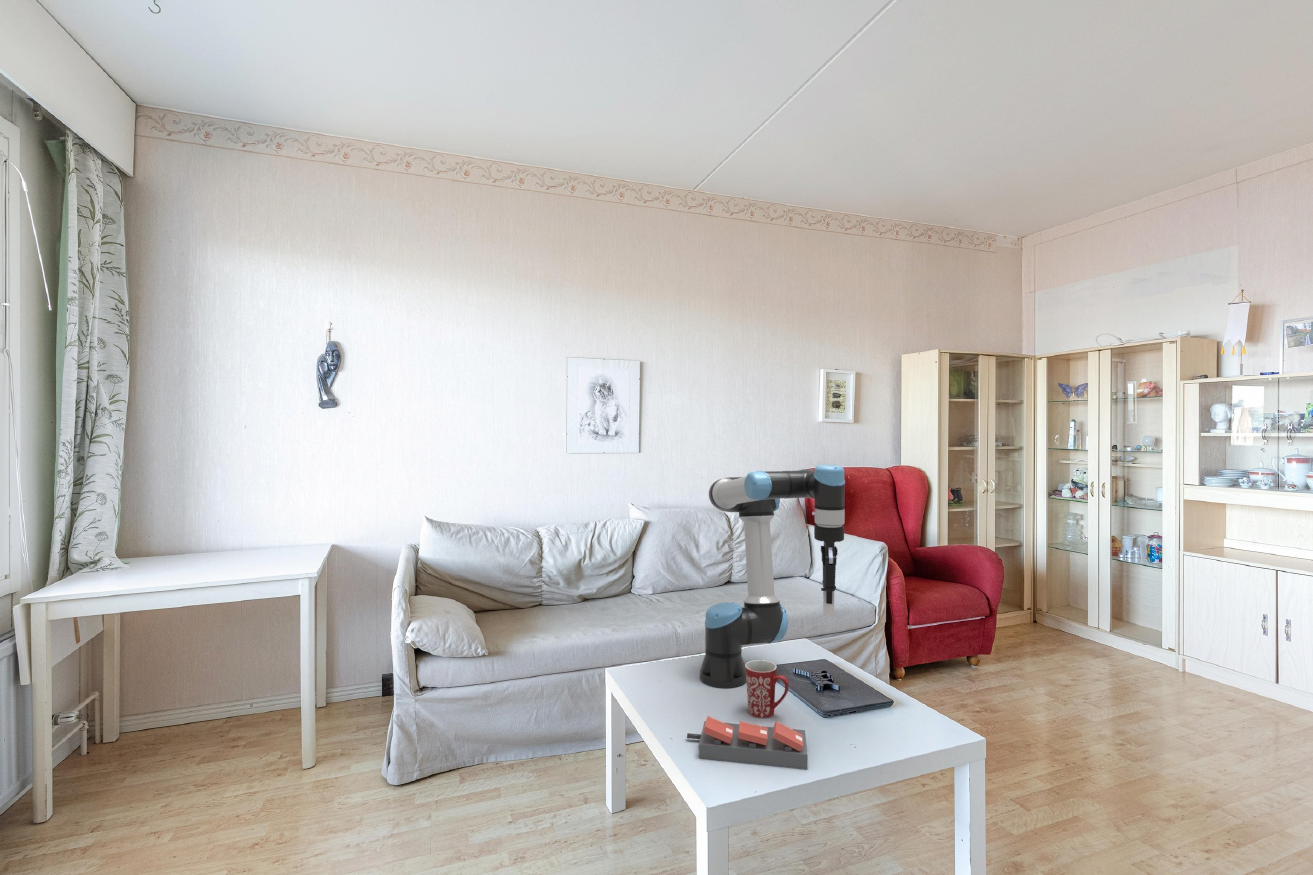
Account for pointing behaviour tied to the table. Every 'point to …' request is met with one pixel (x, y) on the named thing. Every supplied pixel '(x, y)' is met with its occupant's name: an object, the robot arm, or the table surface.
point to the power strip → (752, 750)
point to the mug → (762, 687)
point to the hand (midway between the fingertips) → (828, 614)
